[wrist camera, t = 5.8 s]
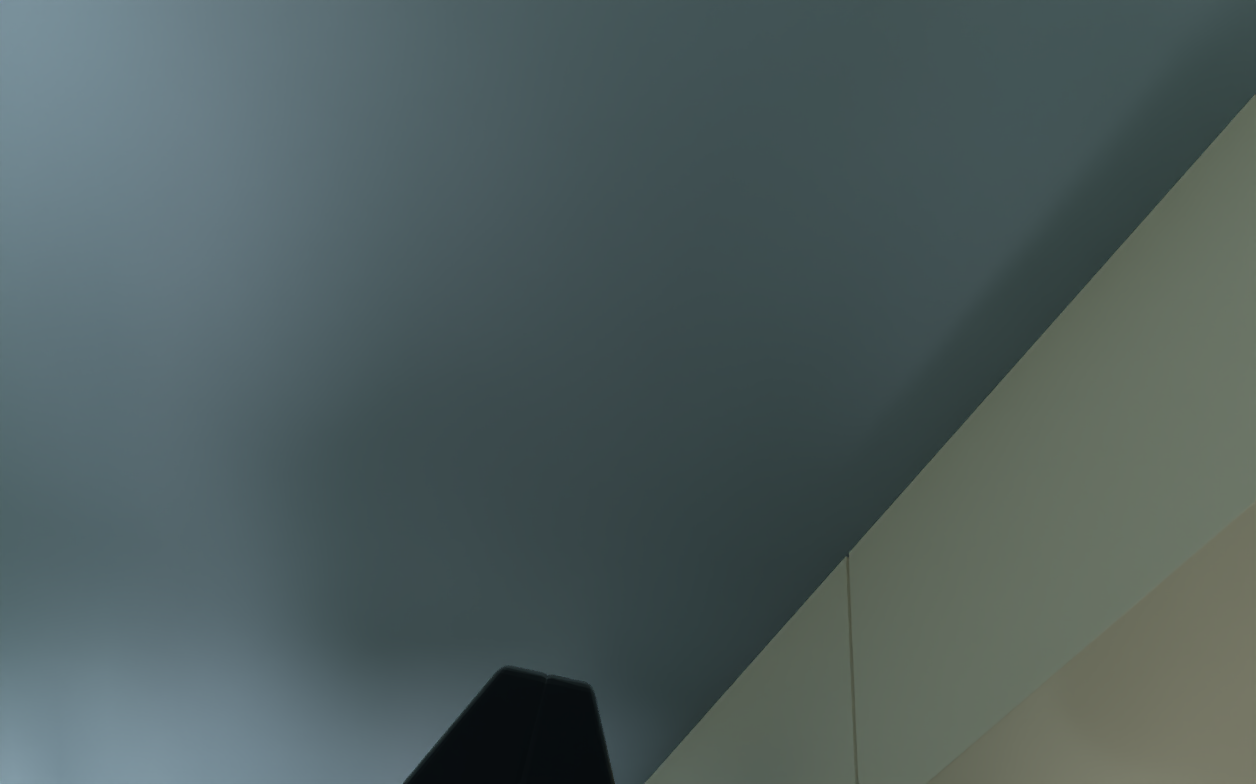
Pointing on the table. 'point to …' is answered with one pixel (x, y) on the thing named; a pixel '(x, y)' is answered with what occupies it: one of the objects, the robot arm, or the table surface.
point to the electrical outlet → (1051, 553)
